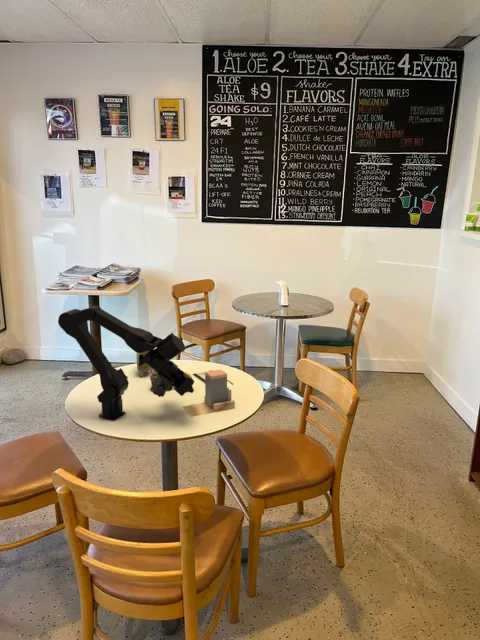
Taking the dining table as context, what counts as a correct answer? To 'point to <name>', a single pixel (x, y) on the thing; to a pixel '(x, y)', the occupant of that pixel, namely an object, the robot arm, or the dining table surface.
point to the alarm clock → (144, 366)
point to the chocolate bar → (203, 376)
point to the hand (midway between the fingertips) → (192, 391)
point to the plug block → (215, 387)
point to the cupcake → (153, 377)
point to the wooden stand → (204, 409)
